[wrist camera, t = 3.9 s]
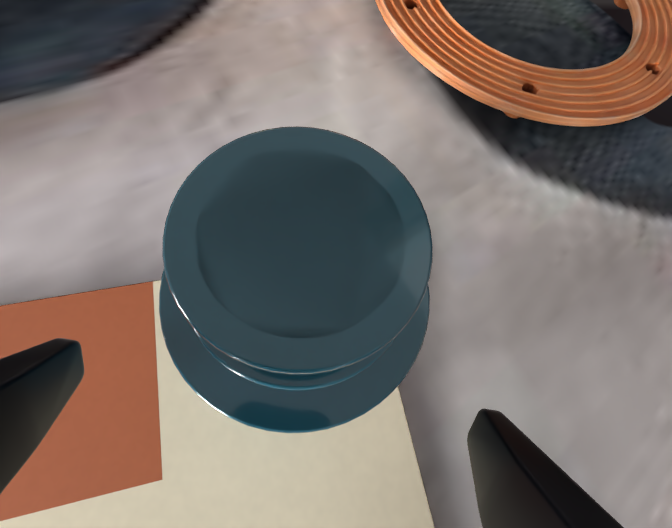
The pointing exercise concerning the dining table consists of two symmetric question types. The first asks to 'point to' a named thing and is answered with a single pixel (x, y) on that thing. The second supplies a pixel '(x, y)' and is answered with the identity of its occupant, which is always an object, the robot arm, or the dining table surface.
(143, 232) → the dining table surface
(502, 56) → the ring
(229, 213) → the bottle with flat stopper
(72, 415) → the mat
